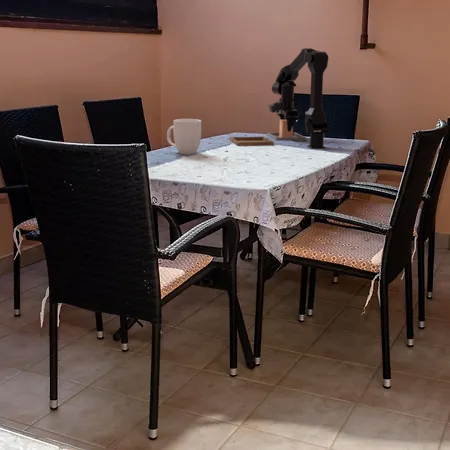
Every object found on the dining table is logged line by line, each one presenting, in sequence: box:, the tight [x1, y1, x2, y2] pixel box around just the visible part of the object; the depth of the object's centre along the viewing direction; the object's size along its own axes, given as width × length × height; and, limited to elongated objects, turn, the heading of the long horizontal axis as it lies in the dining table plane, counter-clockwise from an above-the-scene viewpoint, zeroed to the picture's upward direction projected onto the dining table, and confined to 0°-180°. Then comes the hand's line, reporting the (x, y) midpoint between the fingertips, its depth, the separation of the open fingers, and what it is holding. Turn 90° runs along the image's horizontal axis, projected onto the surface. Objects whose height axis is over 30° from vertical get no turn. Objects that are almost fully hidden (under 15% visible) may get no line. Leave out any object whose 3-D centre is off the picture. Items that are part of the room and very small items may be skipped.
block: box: [278, 119, 294, 137], centre depth 302 cm, size 5×5×8 cm
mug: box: [166, 118, 202, 155], centre depth 260 cm, size 15×11×13 cm
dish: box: [229, 136, 275, 147], centre depth 286 cm, size 16×16×2 cm
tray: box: [266, 131, 307, 142], centre depth 303 cm, size 16×14×2 cm
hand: (286, 130), depth 302 cm, fingers open, 9 cm apart
